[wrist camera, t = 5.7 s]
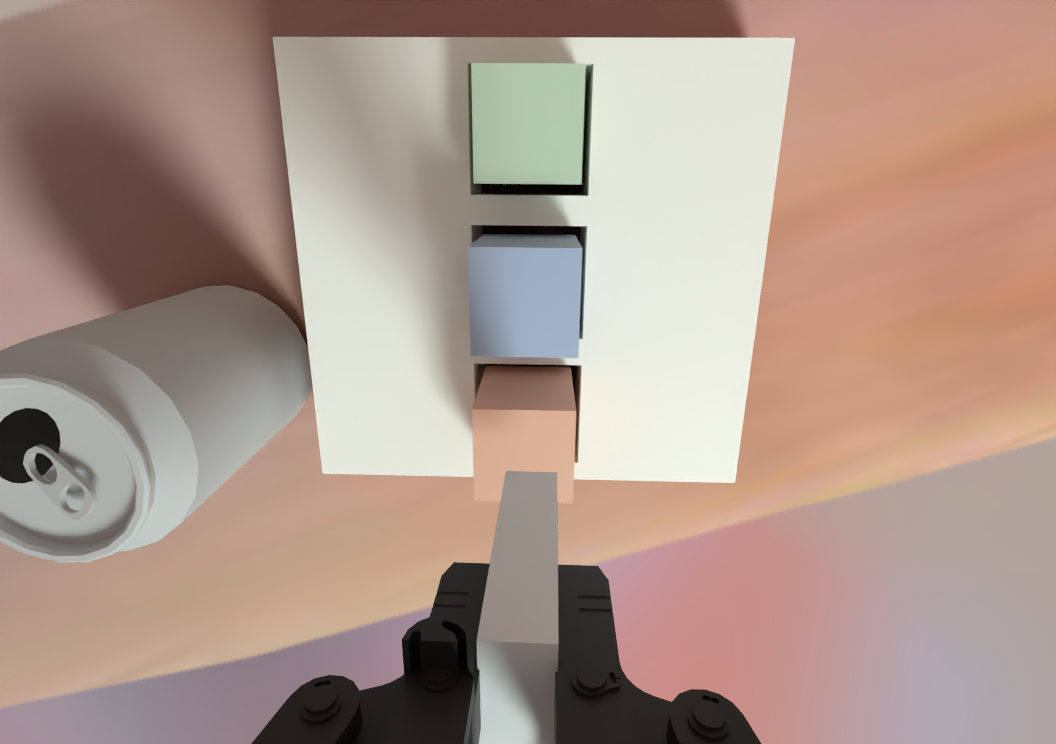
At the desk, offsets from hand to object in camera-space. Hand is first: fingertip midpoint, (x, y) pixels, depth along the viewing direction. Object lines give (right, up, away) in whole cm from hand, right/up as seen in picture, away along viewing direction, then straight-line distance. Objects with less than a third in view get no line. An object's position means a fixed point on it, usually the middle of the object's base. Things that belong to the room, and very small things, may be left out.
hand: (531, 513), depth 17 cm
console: (0, +9, +9) cm, 13 cm away
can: (-14, +5, +11) cm, 19 cm away
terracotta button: (0, +3, +8) cm, 9 cm away
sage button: (0, +14, +6) cm, 15 cm away
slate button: (0, +8, +6) cm, 10 cm away
